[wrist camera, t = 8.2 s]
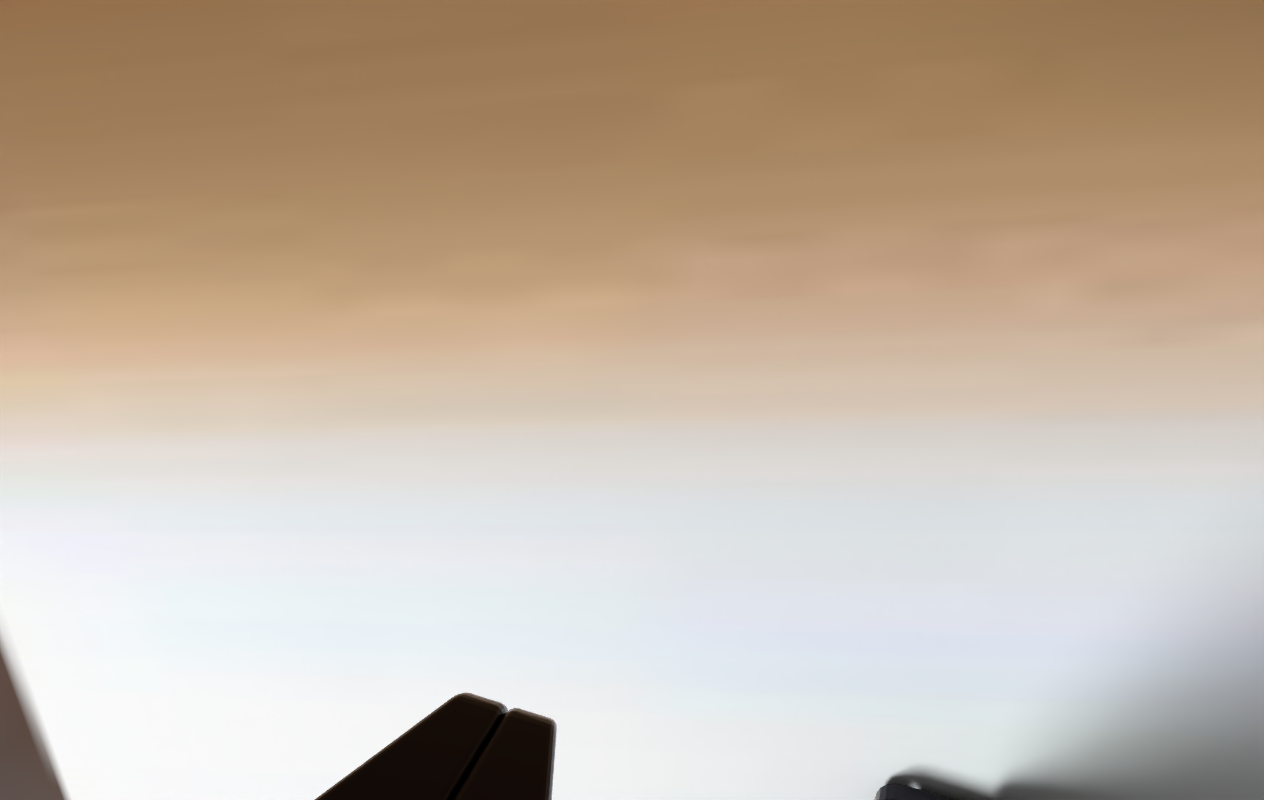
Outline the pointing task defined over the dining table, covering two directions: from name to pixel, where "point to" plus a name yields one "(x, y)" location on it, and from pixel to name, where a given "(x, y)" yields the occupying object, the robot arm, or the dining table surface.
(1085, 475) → the dining table surface
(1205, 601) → the dining table surface
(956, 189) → the dining table surface
